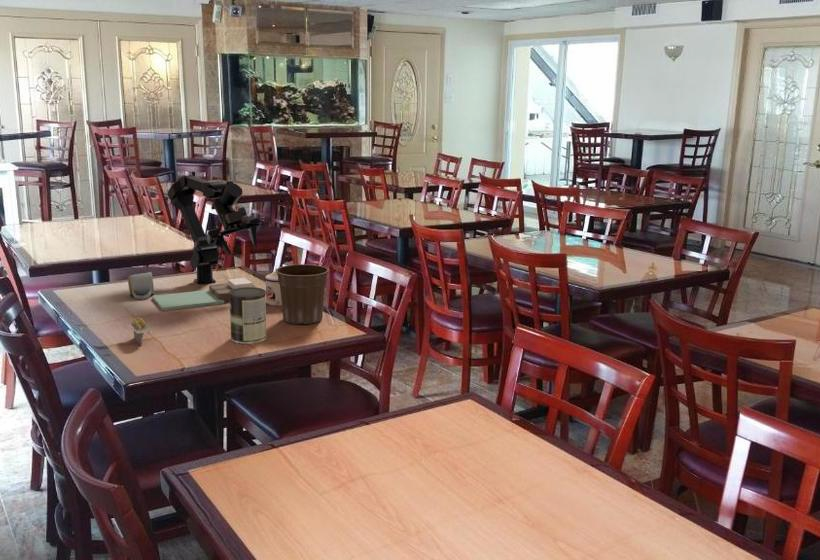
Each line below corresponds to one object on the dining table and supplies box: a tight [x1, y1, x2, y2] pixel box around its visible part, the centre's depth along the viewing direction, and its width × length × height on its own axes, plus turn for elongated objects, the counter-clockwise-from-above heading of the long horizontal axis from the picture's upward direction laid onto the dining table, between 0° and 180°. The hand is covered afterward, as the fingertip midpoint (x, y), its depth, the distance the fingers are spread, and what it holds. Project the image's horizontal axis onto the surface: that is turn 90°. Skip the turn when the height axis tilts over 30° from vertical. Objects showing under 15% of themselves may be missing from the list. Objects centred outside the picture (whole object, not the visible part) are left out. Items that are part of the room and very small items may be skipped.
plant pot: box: [275, 263, 330, 325], centre depth 242 cm, size 16×16×16 cm
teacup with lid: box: [264, 270, 282, 307], centre depth 260 cm, size 12×9×12 cm
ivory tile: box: [227, 277, 253, 289], centre depth 269 cm, size 8×6×2 cm
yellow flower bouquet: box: [128, 317, 150, 347], centre depth 220 cm, size 12×18×7 cm, turn 32°
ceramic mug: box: [127, 271, 155, 300], centre depth 266 cm, size 11×8×8 cm
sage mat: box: [151, 289, 225, 312], centre depth 262 cm, size 16×20×1 cm
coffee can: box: [229, 286, 268, 345], centre depth 223 cm, size 10×10×14 cm
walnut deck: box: [208, 282, 258, 303], centre depth 269 cm, size 13×14×3 cm
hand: (243, 251), depth 266 cm, fingers open, 9 cm apart
